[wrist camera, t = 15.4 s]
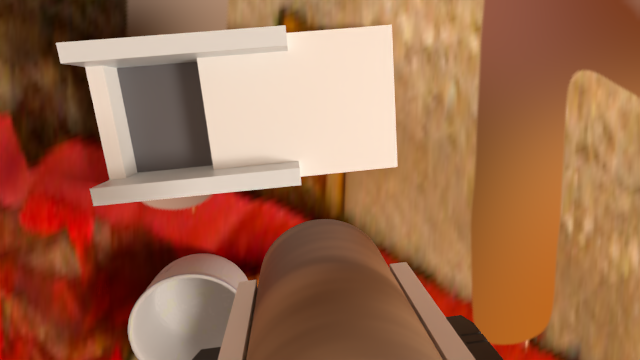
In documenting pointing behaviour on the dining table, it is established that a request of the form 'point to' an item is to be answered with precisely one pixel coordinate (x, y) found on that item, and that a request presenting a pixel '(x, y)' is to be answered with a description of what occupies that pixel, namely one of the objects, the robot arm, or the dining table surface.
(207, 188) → the channel
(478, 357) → the robot arm
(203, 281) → the teacup
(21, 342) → the dining table surface
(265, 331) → the brown cylinder
